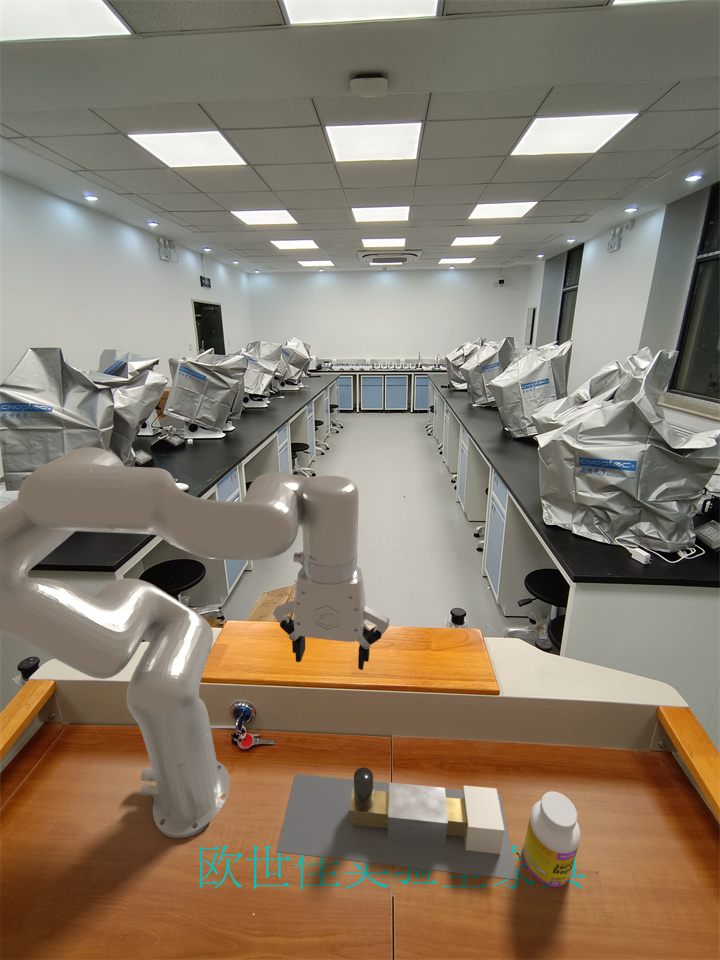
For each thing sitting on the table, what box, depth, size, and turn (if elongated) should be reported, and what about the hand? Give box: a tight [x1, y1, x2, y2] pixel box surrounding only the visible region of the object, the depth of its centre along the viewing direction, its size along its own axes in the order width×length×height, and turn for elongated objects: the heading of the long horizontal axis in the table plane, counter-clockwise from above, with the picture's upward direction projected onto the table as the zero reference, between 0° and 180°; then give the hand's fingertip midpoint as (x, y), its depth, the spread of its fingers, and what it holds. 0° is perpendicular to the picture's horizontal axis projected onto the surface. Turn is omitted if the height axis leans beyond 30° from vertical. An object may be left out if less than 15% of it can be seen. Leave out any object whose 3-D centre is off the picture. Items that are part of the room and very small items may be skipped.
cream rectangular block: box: [462, 785, 505, 854], centre depth 67 cm, size 5×6×6 cm
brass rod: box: [350, 766, 467, 837], centre depth 67 cm, size 22×3×9 cm, turn 84°
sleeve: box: [388, 782, 448, 845], centre depth 68 cm, size 9×5×5 cm, turn 84°
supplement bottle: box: [522, 791, 581, 888], centre depth 62 cm, size 7×7×13 cm
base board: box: [276, 773, 518, 881], centre depth 69 cm, size 36×12×1 cm, turn 84°
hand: (331, 659), depth 65 cm, fingers open, 9 cm apart
